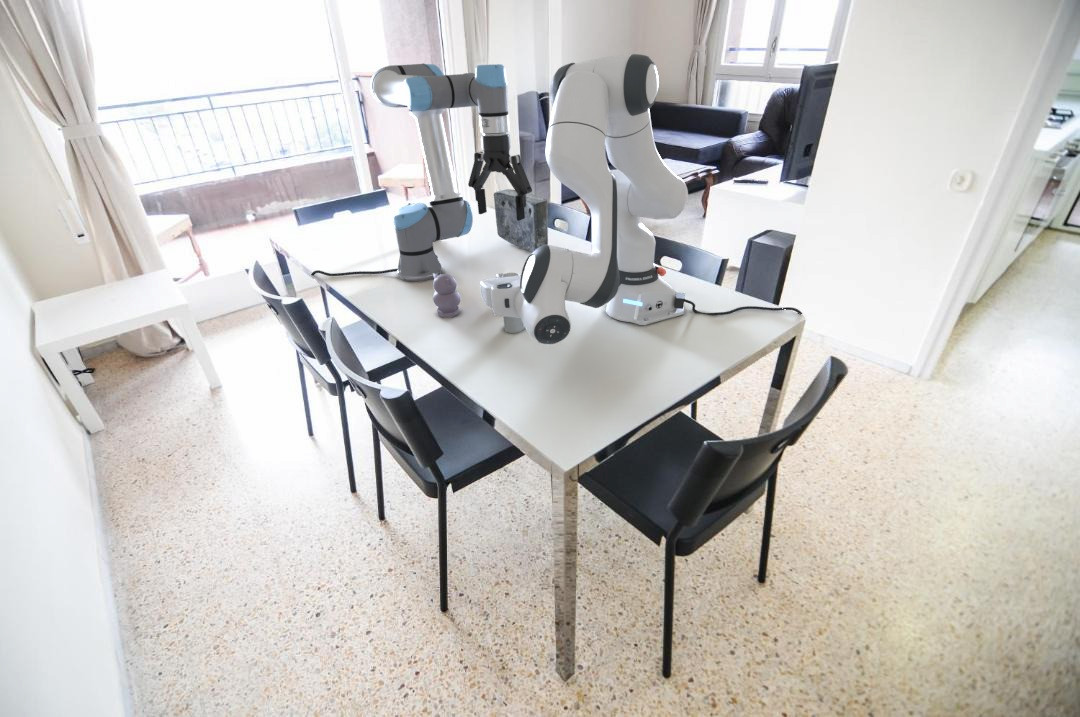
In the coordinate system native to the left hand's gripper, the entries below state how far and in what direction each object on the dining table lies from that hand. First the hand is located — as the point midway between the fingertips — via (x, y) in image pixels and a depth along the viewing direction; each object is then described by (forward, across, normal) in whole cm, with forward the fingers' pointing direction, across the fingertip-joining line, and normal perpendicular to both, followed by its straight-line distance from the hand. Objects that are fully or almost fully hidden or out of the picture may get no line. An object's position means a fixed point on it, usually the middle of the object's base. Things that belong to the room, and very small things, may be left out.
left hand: (501, 216), depth 139 cm
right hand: (+6, +21, -21) cm, 30 cm away
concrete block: (+27, -26, +44) cm, 58 cm away
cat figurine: (+27, -11, -15) cm, 32 cm away
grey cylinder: (+27, +12, -12) cm, 32 cm away
